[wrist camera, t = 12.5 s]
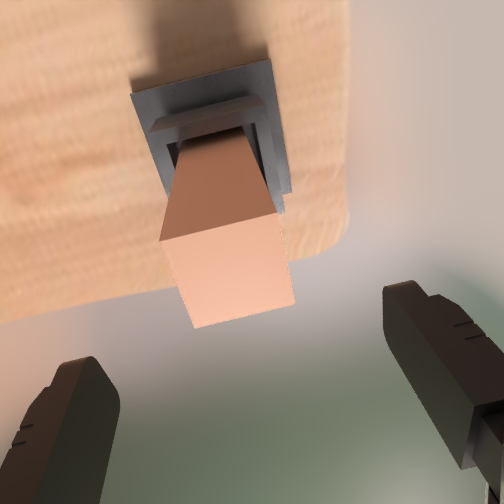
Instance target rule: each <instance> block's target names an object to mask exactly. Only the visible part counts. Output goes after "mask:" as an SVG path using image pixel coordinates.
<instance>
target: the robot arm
mask: <svg viewBox="0 0 504 504" xmlns="http://www.w3.org/2000/svg"><path fill="white" fill-rule="evenodd" d="M382 295H383V330H384V335H385V338H386V341H387V344H388V346H389V348H390V350H391V352H392V354H393V355H394V357H395V359H396V360H397V362H398V364H399V366H400V367H401V369H402V371H403V372H404V374H405V376H406V377H407V379H408V381H409V382H410V384H411V386H412V388H413V389H414V391H415V393H416V394H417V396H418V398H419V400H420V401H421V403H422V405H423V406H424V408H425V410H426V411H427V413H428V415H429V417H430V418H431V420H432V422H433V423H434V425H435V427H436V429H437V430H438V432H439V434H440V435H441V437H442V439H443V440H444V442H445V444H446V446H447V447H448V449H449V451H450V452H451V454H452V456H453V457H454V459H455V461H456V462H457V464H458V466H459V468H460V469H461V470H463V469H467V468H472V467H476V466H477V467H478V468H479V469H480V472H481V473H482V475H483V476H484V478H485V479H486V481H487V483H486V494H485V504H504V353H503V352H502V351H501V350H500V349H499V348H498V347H497V345H496V344H494V342H493V341H492V340H491V339H490V338H489V337H486V335H485V333H484V332H483V330H482V329H481V328H480V327H479V326H478V325H477V324H474V322H473V320H472V319H471V318H470V317H469V315H467V313H466V312H465V311H464V310H463V309H462V308H461V307H460V306H459V305H457V304H456V303H454V302H452V301H450V300H449V299H447V298H445V297H443V296H441V295H439V294H438V295H433V296H429V297H428V295H427V294H426V293H425V292H424V291H423V289H422V288H421V287H420V286H419V285H418V284H417V283H416V282H415V281H413V280H410V281H406V282H402V283H397V284H393V285H389V286H385V287H384V288H383V294H382ZM119 413H120V399H119V395H118V392H117V390H116V388H115V386H114V385H113V383H112V382H111V380H110V379H109V377H108V376H107V374H106V373H105V371H104V370H103V369H102V367H101V365H100V364H99V362H98V361H97V360H96V359H95V358H94V357H92V356H89V357H85V358H81V359H77V360H73V361H68V362H65V363H62V364H61V365H60V366H59V367H58V369H57V372H56V374H55V376H54V379H53V381H52V383H51V385H50V386H49V387H45V388H44V389H43V390H42V392H41V393H40V394H39V395H38V397H37V398H36V399H35V400H34V401H33V403H32V404H31V405H30V406H29V408H28V410H27V413H26V414H25V417H24V419H23V421H22V423H21V425H20V431H18V432H17V434H16V436H15V438H14V440H13V442H12V448H11V449H9V451H8V453H7V455H6V457H5V459H4V461H3V464H2V466H1V468H0V504H99V502H100V498H101V494H102V489H103V485H104V480H105V476H106V471H107V467H108V462H109V458H110V453H111V448H112V444H113V440H114V435H115V431H116V426H117V422H118V418H119Z"/></svg>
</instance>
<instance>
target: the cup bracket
mask: <svg viewBox="0 0 504 504" xmlns="http://www.w3.org/2000/svg"><path fill="white" fill-rule="evenodd" d="M130 96H131V99H132V102H133V104H134V107H135V110H136V113H137V115H138V118H139V121H140V123H141V126H142V129H143V132H144V134H145V137H146V140H147V143H148V145H149V148H150V151H151V153H152V156H153V159H154V162H155V164H156V167H157V170H158V173H159V175H160V178H161V181H162V183H163V186H164V189H165V192H166V194H167V197H168V200H169V195H170V191H171V187H172V182H173V178H174V174H175V169H176V165H177V160H178V156H179V152H180V147H181V143H182V140H186V139H190V138H194V137H198V136H202V135H206V134H210V133H214V132H218V131H222V130H226V129H230V128H234V127H238V126H242V127H243V130H244V132H245V135H246V137H247V140H248V142H249V144H250V147H251V149H252V152H253V154H254V157H255V159H256V162H257V164H258V166H259V169H260V171H261V174H262V176H263V179H264V181H265V184H266V186H267V188H268V191H269V193H270V196H271V198H272V201H273V203H274V206H275V208H276V210H277V213H278V214H281V213H285V208H284V202H283V197H282V195H283V194H287V193H291V192H292V188H291V182H290V176H289V169H288V163H287V157H286V151H285V145H284V139H283V133H282V126H281V120H280V114H279V108H278V102H277V96H276V90H275V83H274V77H273V71H272V65H271V59H269V58H268V59H264V60H260V61H256V62H252V63H248V64H244V65H240V66H236V67H232V68H228V69H224V70H220V71H216V72H212V73H208V74H204V75H200V76H196V77H192V78H188V79H184V80H180V81H176V82H172V83H168V84H164V85H160V86H156V87H152V88H148V89H144V90H140V91H136V92H132V93H131V94H130Z"/></svg>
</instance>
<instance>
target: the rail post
mask: <svg viewBox="0 0 504 504" xmlns="http://www.w3.org/2000/svg"><path fill="white" fill-rule="evenodd" d="M159 243H160V246H161V248H162V250H163V253H164V255H165V258H166V260H167V262H168V265H169V267H170V270H171V272H172V275H173V277H174V279H175V282H176V284H177V287H178V289H179V291H180V294H181V296H182V298H183V301H184V303H185V306H186V308H187V311H188V313H189V315H190V318H191V320H192V323H193V325H194V328H199V327H203V326H207V325H211V324H215V323H219V322H224V321H227V320H232V319H236V318H240V317H244V316H249V315H253V314H257V313H261V312H265V311H269V310H273V309H277V308H281V307H285V306H290V305H294V304H295V300H294V294H293V289H292V284H291V279H290V274H289V270H288V264H287V259H286V254H285V249H284V244H283V239H282V234H281V228H280V223H279V218H278V213H277V210H276V208H275V206H274V203H273V201H272V198H271V196H270V193H269V191H268V188H267V186H266V184H265V181H264V179H263V176H262V174H261V171H260V169H259V166H258V164H257V162H256V159H255V157H254V154H253V152H252V149H251V147H250V144H249V142H248V140H247V137H246V135H245V132H244V130H243V127H242V126H238V127H234V128H230V129H226V130H222V131H218V132H214V133H210V134H206V135H202V136H198V137H194V138H190V139H186V140H182V143H181V147H180V152H179V156H178V160H177V165H176V169H175V174H174V178H173V182H172V187H171V191H170V195H169V200H168V204H167V209H166V213H165V217H164V222H163V226H162V230H161V235H160V239H159Z"/></svg>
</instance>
